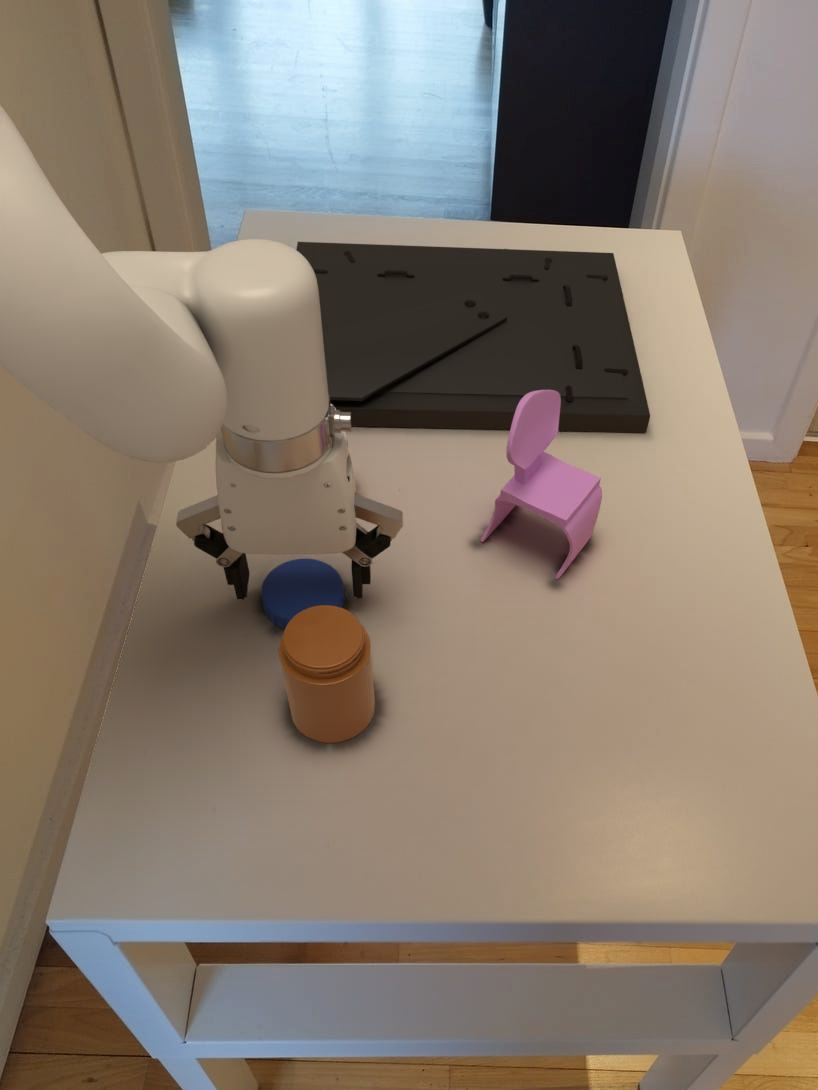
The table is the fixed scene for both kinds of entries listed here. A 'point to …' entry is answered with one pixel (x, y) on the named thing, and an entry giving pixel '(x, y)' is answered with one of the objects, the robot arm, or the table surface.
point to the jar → (328, 673)
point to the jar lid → (300, 589)
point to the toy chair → (547, 476)
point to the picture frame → (475, 336)
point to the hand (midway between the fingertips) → (301, 586)
